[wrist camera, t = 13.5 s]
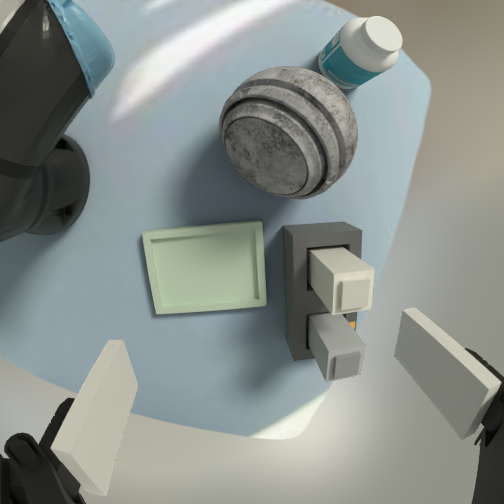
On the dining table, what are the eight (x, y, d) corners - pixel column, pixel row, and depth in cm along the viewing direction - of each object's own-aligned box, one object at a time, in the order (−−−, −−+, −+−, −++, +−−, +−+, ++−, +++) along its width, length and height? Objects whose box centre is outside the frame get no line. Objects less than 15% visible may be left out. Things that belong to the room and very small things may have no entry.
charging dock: (286, 338, 45) (308, 401, 31) (283, 225, 41) (313, 255, 27) (339, 331, 46) (376, 386, 32) (344, 221, 41) (397, 247, 27)
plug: (302, 331, 43) (327, 385, 31) (302, 305, 42) (330, 354, 30) (330, 327, 43) (362, 377, 31) (332, 301, 42) (367, 347, 30)
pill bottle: (368, 89, 36) (420, 65, 23) (323, 92, 36) (365, 62, 23) (356, 45, 34) (400, 10, 21) (310, 46, 34) (344, 3, 21)
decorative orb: (199, 137, 36) (184, 118, 22) (276, 67, 35) (302, 18, 20) (279, 214, 40) (309, 238, 26) (350, 143, 38) (409, 133, 24)
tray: (158, 309, 42) (156, 314, 41) (144, 230, 39) (142, 232, 38) (265, 301, 43) (266, 305, 42) (260, 220, 40) (262, 221, 39)
